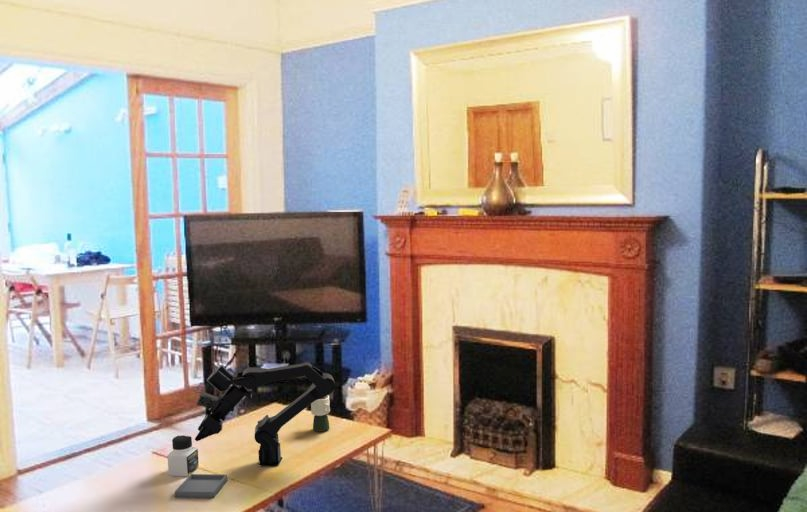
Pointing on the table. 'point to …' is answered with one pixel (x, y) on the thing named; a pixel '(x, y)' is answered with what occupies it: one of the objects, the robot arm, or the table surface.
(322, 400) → the character mug
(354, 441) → the table surface
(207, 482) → the tray
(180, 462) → the medicine bottle
